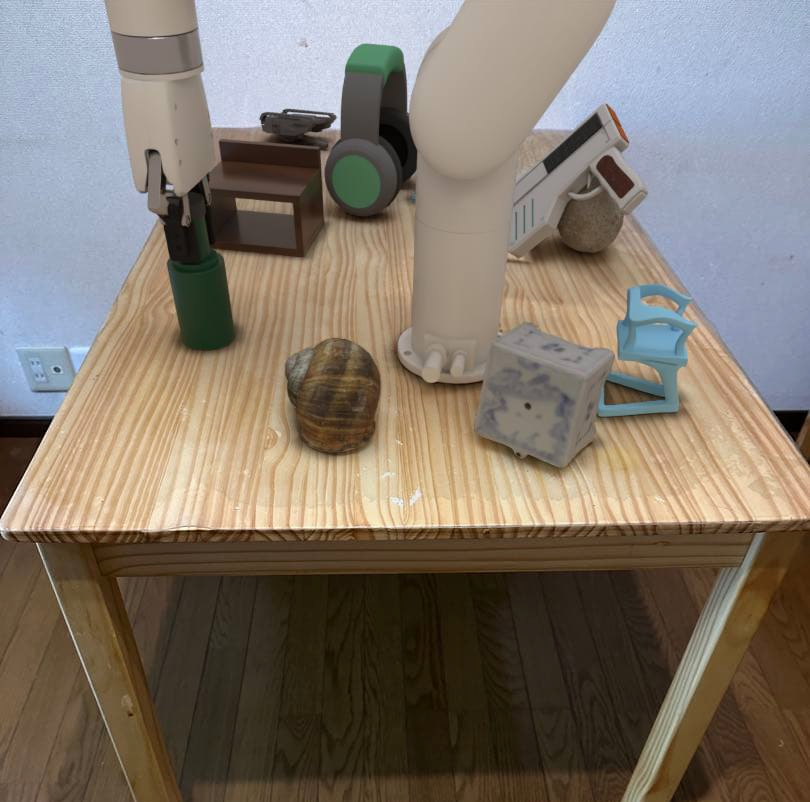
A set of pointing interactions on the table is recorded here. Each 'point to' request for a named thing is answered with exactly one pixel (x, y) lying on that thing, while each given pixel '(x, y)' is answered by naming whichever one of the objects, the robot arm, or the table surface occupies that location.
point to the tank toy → (296, 125)
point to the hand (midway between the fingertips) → (193, 250)
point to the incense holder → (541, 394)
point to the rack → (267, 196)
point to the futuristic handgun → (574, 179)
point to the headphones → (372, 133)
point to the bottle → (202, 289)
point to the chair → (651, 349)
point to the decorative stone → (590, 221)
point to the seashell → (334, 394)
